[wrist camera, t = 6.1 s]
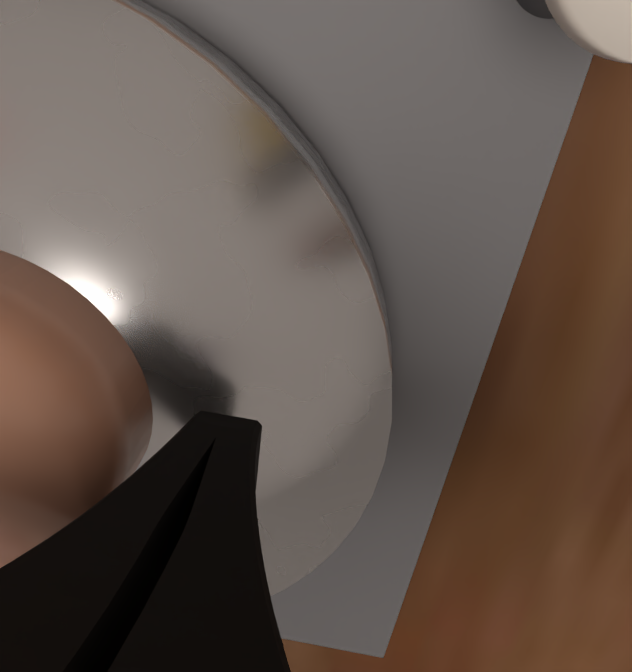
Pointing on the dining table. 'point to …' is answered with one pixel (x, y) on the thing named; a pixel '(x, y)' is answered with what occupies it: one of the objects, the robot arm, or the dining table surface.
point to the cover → (61, 406)
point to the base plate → (418, 219)
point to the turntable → (202, 251)
